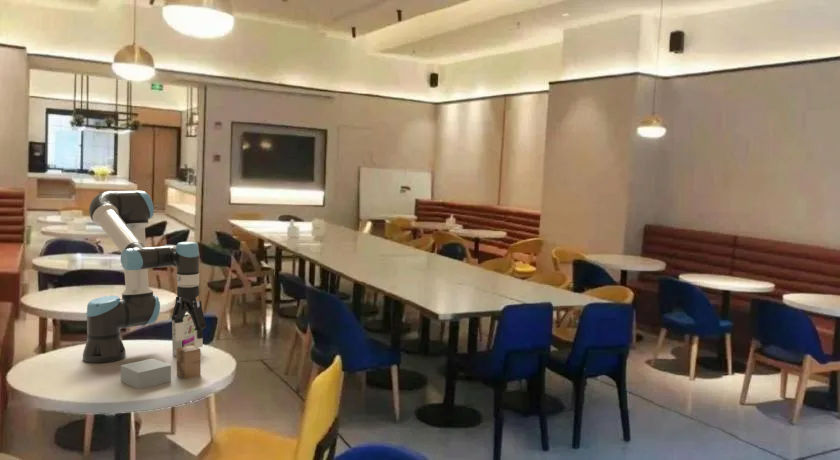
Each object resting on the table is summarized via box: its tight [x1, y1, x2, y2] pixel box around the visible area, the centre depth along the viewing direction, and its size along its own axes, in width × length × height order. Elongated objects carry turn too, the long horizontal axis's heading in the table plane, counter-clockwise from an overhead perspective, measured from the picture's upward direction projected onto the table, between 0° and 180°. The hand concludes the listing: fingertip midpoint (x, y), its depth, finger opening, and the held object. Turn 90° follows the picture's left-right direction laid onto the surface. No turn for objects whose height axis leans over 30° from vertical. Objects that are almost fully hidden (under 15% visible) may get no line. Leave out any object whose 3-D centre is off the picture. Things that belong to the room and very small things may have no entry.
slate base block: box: [120, 358, 172, 390], centre depth 242 cm, size 12×12×6 cm
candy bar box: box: [171, 311, 195, 357], centre depth 277 cm, size 11×5×16 cm, turn 168°
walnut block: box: [176, 345, 202, 380], centre depth 249 cm, size 6×6×10 cm
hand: (188, 343), depth 248 cm, fingers open, 13 cm apart
